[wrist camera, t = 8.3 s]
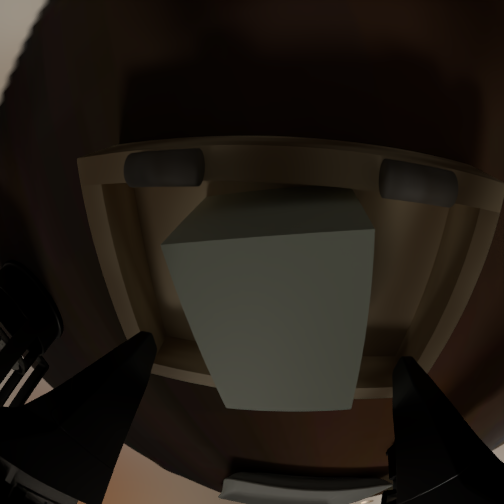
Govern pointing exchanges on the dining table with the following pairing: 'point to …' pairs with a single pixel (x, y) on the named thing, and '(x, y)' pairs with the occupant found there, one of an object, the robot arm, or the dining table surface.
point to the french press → (24, 329)
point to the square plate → (298, 489)
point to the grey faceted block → (277, 294)
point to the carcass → (283, 176)
